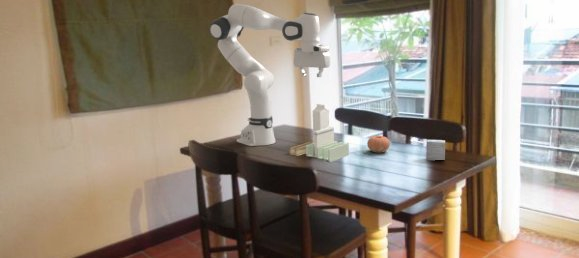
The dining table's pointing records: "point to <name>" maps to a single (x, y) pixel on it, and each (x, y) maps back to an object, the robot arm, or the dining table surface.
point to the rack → (328, 151)
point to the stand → (299, 149)
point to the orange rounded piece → (378, 144)
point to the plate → (323, 137)
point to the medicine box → (435, 150)
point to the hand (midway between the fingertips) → (311, 76)
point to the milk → (320, 118)
